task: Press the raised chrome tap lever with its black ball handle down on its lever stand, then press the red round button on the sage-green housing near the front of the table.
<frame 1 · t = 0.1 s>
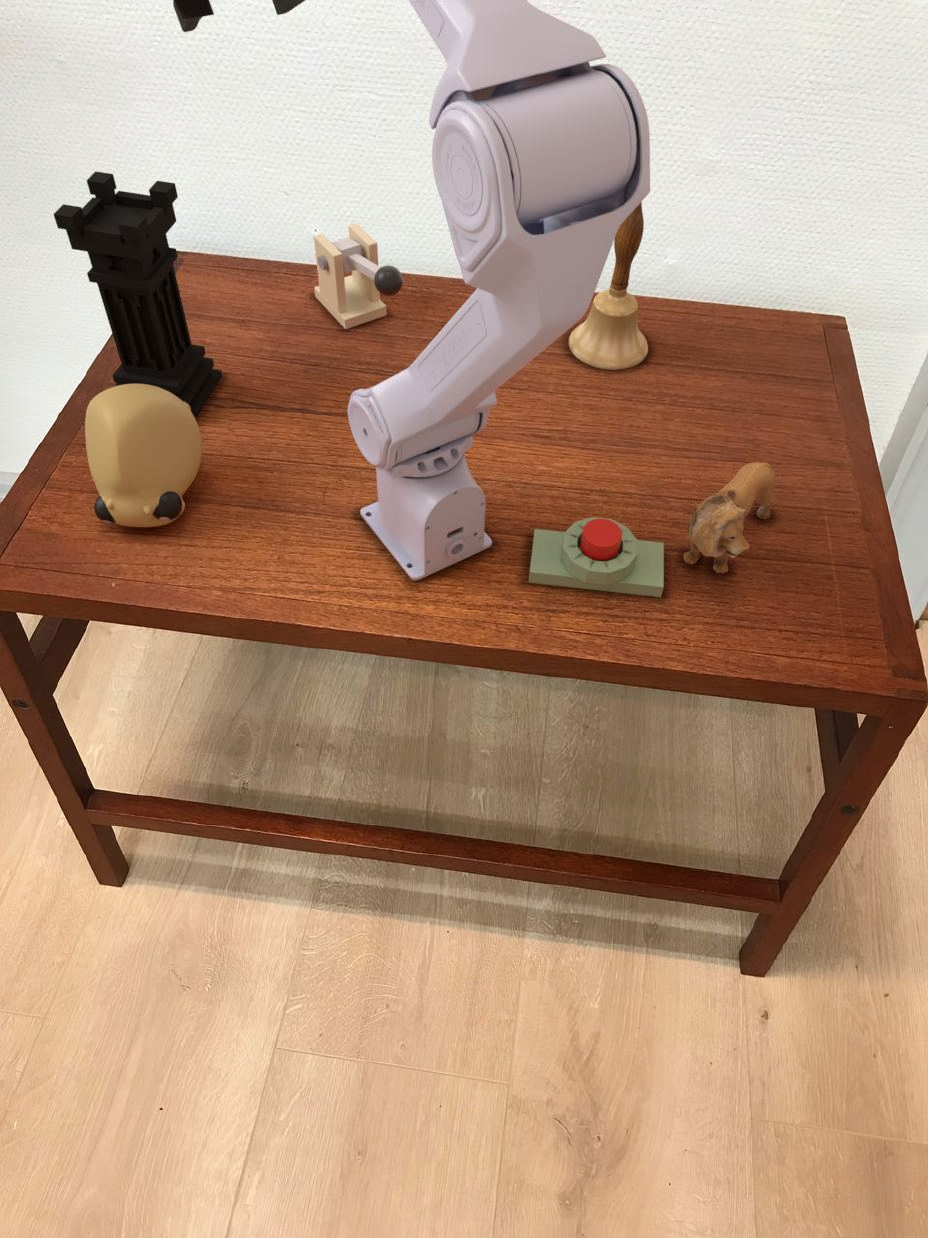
hand: (230, 8, 75), 32 cm above the table, tool tilted 50°, fingers open, 7 cm apart
button box: (595, 568, 83), on the table
lion figurine: (724, 549, 85), on the table
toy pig: (154, 494, 87), on the table
button: (601, 539, 80), point 4 cm above the table, slide at 0.1 cm
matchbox: (525, 321, 104), on the table
tap lever: (366, 267, 98), point 7 cm above the table, hinge at 12.0°
chess piece: (168, 396, 96), on the table
lever stand: (350, 306, 105), on the table
hand bell: (607, 347, 102), on the table
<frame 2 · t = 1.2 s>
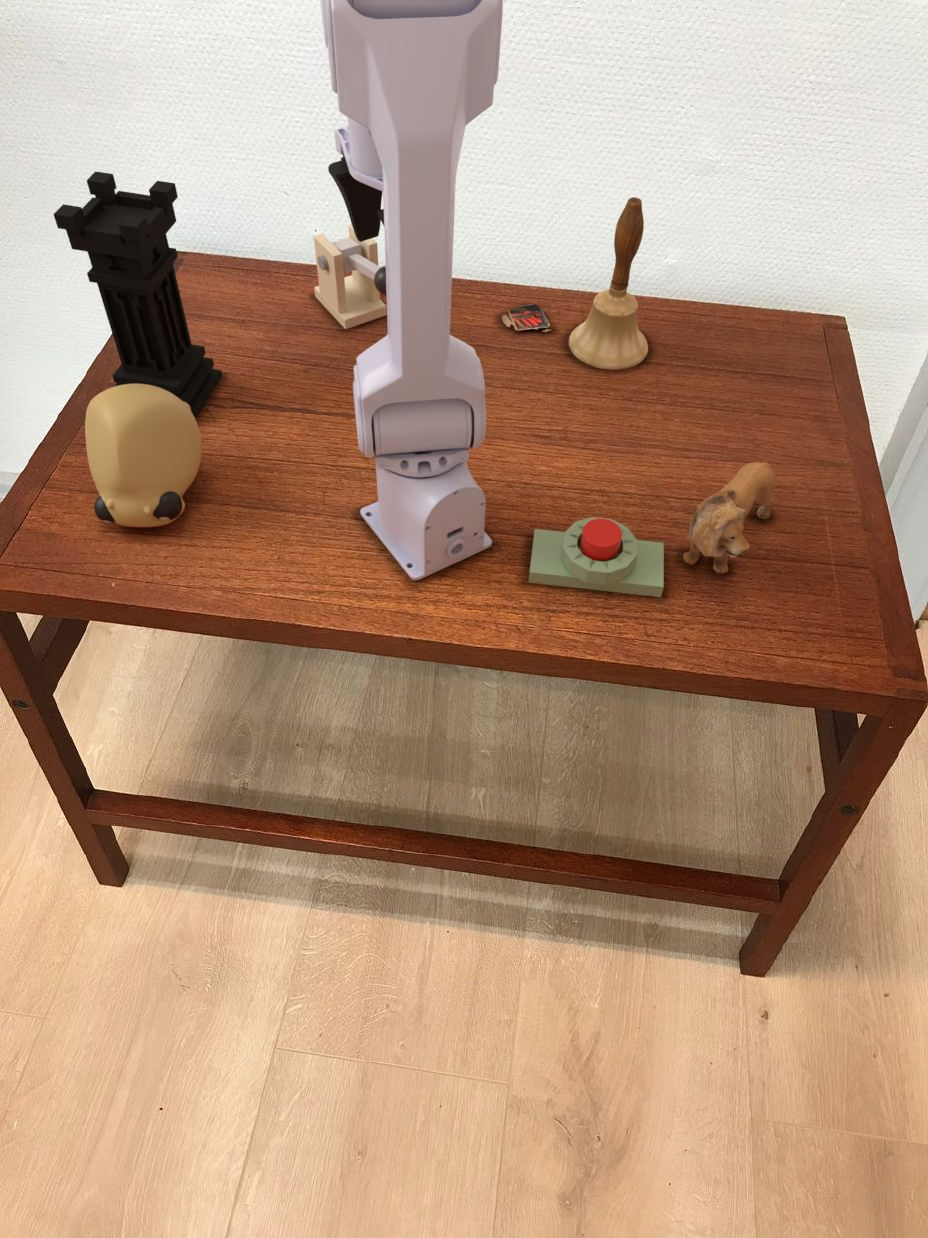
hand: (387, 256, 93), 10 cm above the table, tool pointing down, fingers open, 7 cm apart
nothing on the table moved.
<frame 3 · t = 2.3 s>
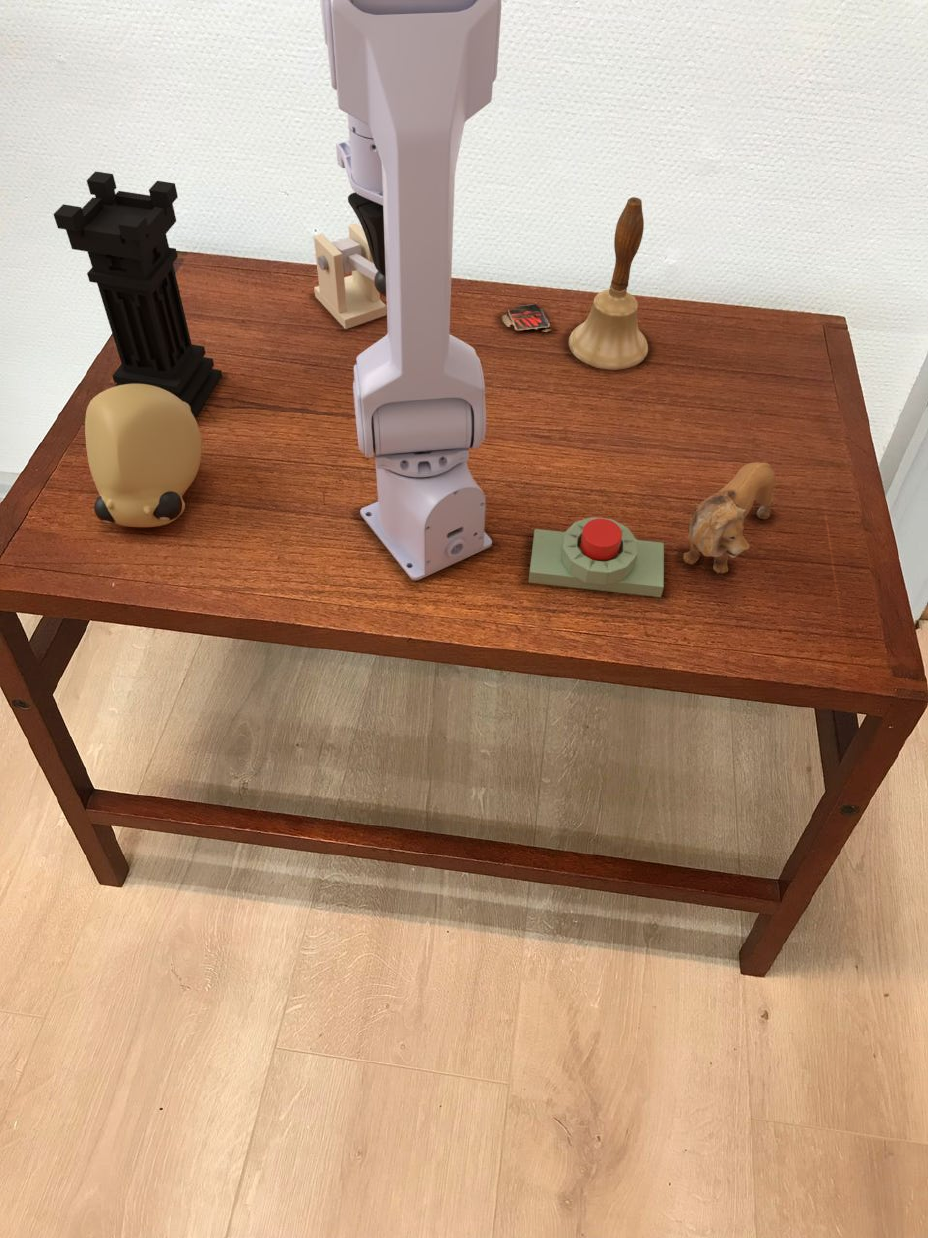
hand: (388, 268, 94), 9 cm above the table, tool pointing down, fingers closed, pressing on tap lever
tap lever: (367, 267, 98), point 7 cm above the table, hinge at 11.4°, touching gripper
everything else where it was.
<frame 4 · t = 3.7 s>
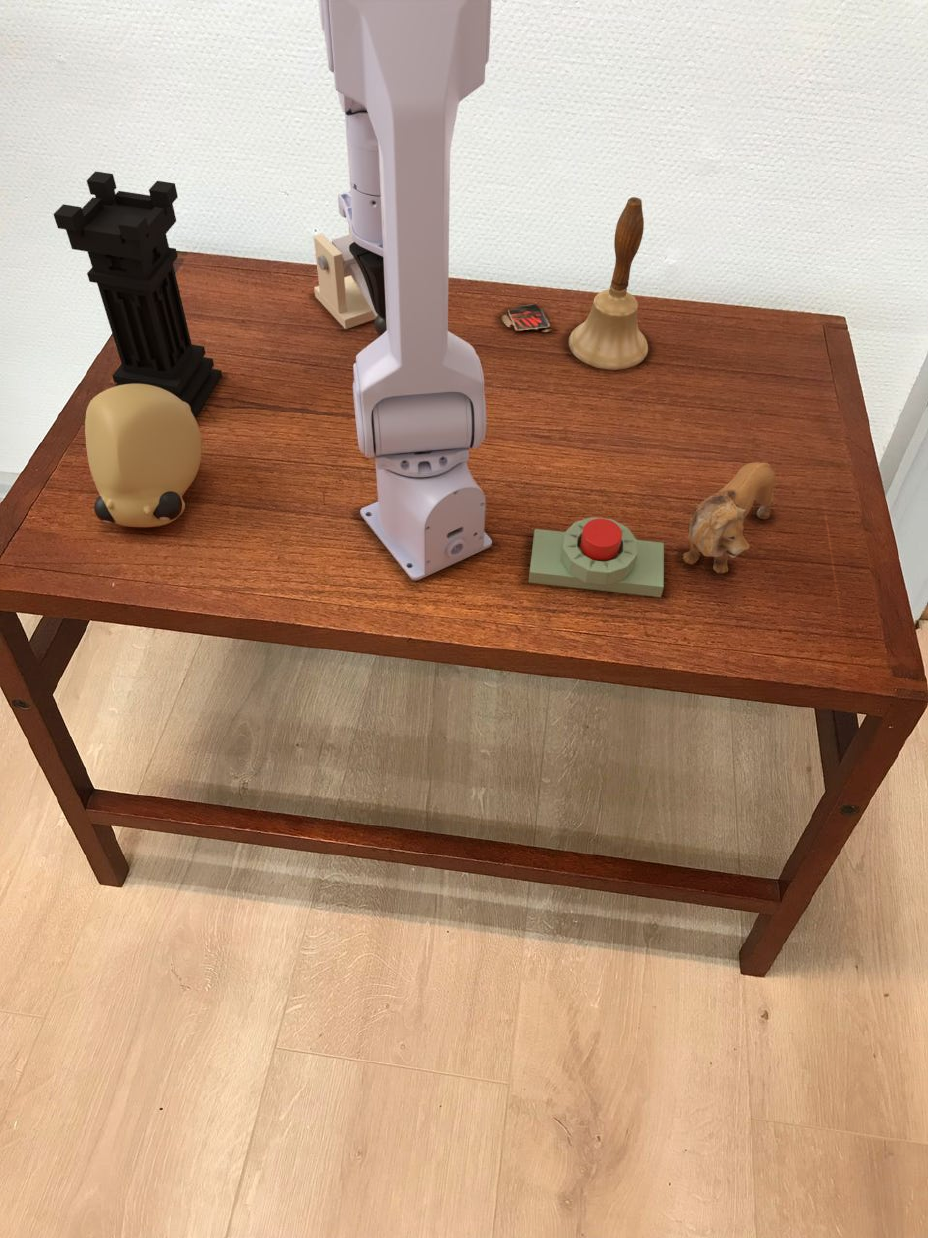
hand: (387, 312, 98), 4 cm above the table, tool pointing down, fingers closed, pressing on tap lever
tap lever: (367, 289, 100), point 4 cm above the table, hinge at -21.7°, touching gripper
everything else where it was.
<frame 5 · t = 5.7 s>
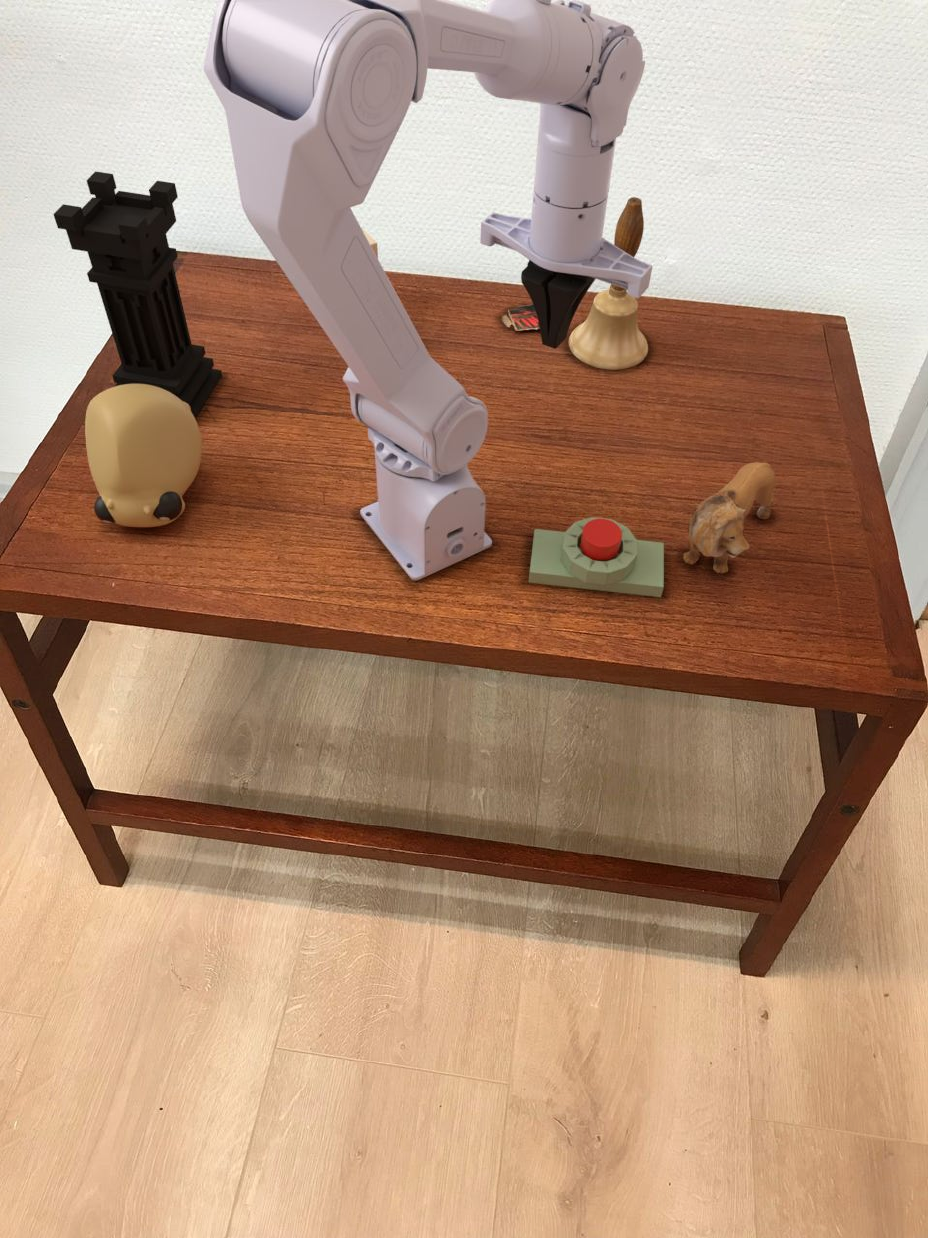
hand: (554, 340, 85), 10 cm above the table, tool pointing down, fingers closed
tap lever: (367, 289, 100), point 4 cm above the table, hinge at -21.8°
everything else where it was.
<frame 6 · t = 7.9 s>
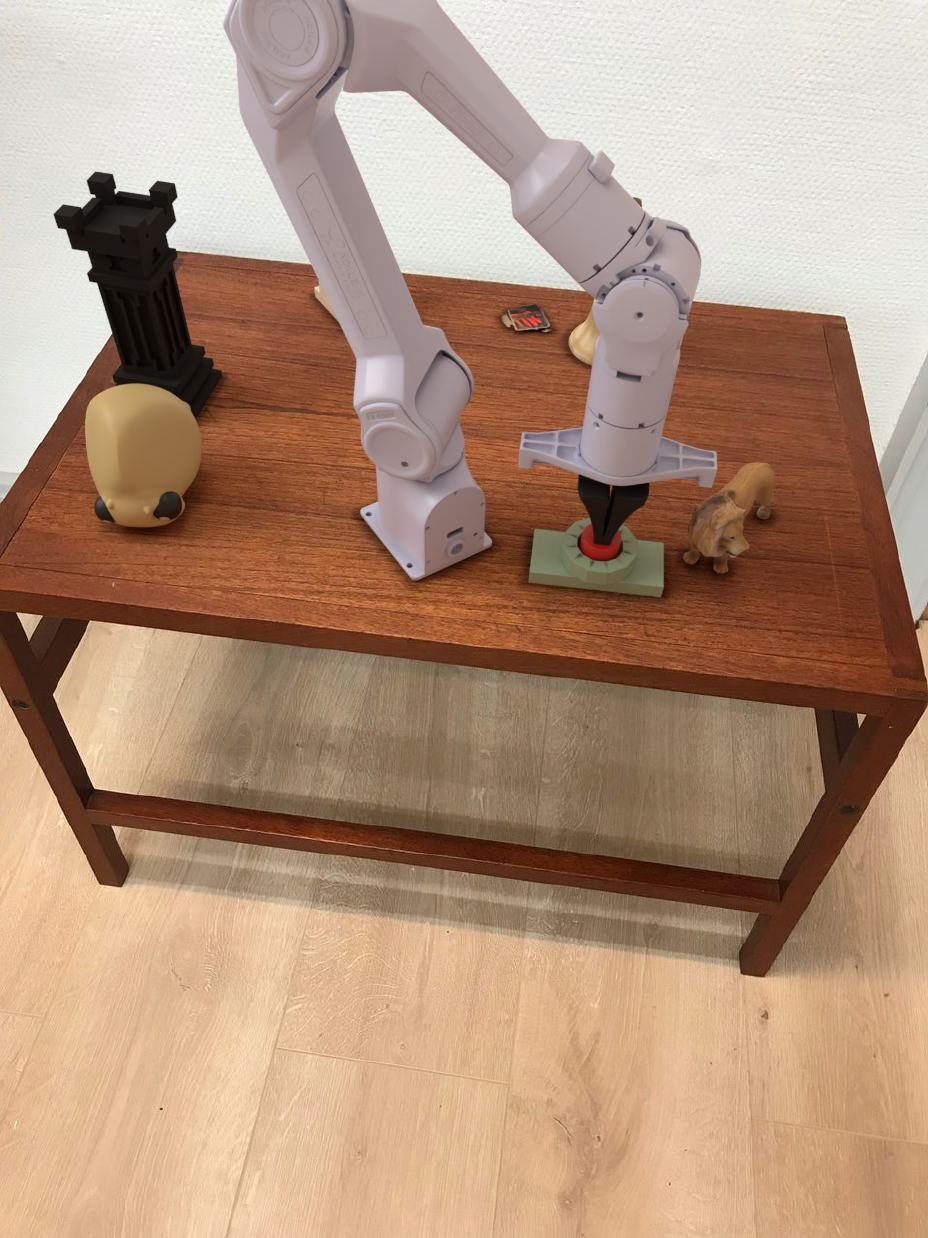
hand: (602, 535, 79), 4 cm above the table, tool pointing down, fingers closed, pressing on button
button: (600, 542, 80), point 3 cm above the table, slide at -0.3 cm, touching gripper
everything else where it was.
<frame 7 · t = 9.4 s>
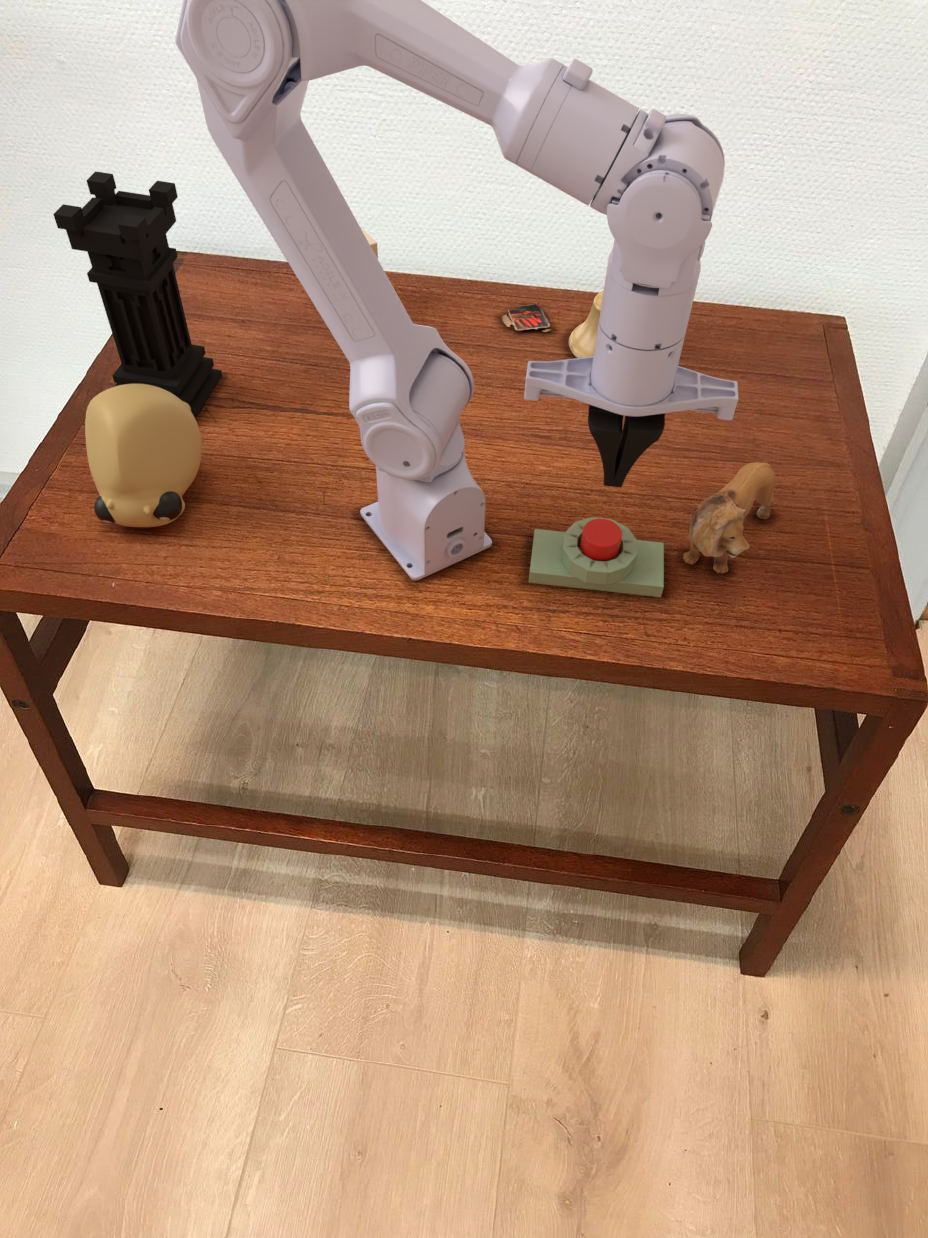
hand: (612, 477, 74), 10 cm above the table, tool pointing down, fingers closed
button: (601, 539, 80), point 4 cm above the table, slide at 0.1 cm
everything else where it was.
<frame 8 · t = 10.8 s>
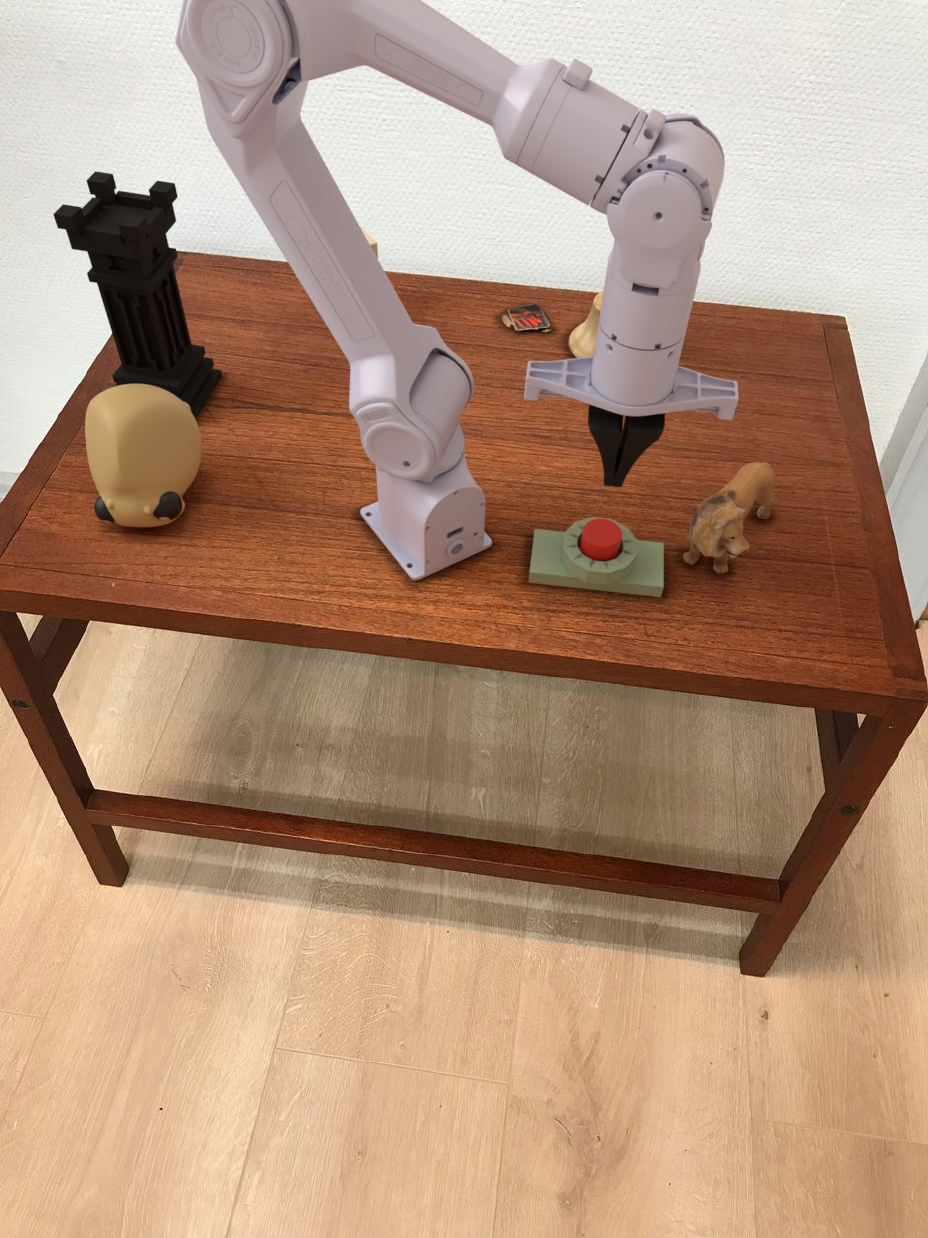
hand: (613, 477, 74), 10 cm above the table, tool pointing down, fingers closed
nothing on the table moved.
at the end: tap lever at -22° (first picture: +12°); button pushed in 1.0 cm at the most during the clip, back to where it started at the end; button slide at 0.1 cm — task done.
